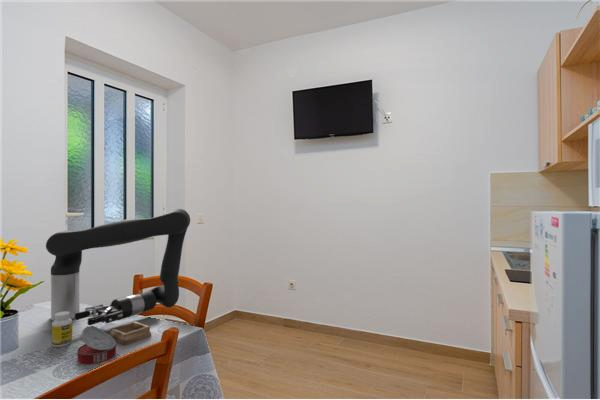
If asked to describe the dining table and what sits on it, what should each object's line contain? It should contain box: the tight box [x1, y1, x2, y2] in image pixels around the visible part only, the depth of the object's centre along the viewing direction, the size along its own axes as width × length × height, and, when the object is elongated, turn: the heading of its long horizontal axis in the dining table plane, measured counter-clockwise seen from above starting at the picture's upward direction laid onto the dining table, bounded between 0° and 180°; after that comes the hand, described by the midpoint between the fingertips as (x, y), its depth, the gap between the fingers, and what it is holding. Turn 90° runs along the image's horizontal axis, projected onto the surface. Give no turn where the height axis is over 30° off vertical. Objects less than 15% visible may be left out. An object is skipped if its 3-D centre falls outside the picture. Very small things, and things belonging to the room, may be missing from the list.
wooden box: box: [109, 320, 152, 346], centre depth 118 cm, size 9×9×3 cm
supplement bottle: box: [51, 311, 73, 348], centre depth 113 cm, size 5×5×10 cm
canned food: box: [77, 325, 117, 365], centre depth 105 cm, size 11×10×10 cm
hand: (81, 319), depth 118 cm, fingers open, 8 cm apart
